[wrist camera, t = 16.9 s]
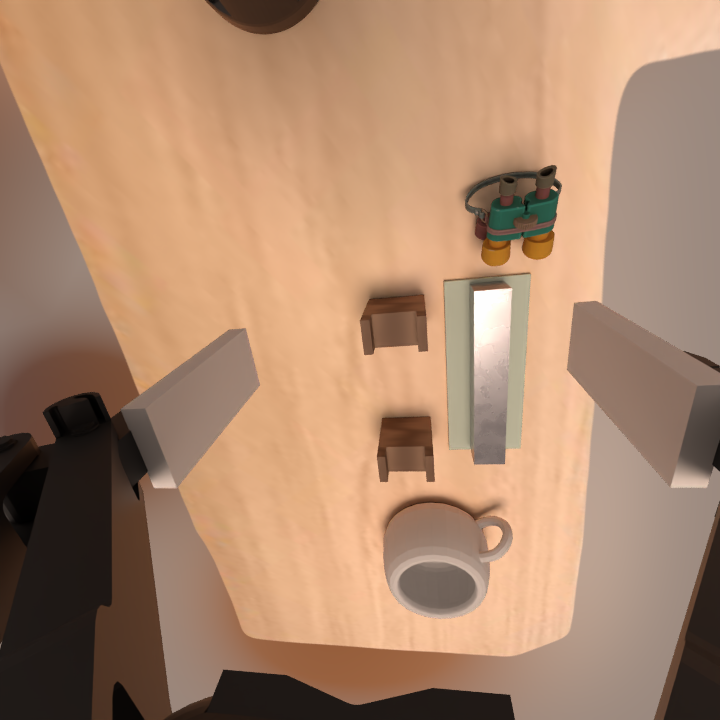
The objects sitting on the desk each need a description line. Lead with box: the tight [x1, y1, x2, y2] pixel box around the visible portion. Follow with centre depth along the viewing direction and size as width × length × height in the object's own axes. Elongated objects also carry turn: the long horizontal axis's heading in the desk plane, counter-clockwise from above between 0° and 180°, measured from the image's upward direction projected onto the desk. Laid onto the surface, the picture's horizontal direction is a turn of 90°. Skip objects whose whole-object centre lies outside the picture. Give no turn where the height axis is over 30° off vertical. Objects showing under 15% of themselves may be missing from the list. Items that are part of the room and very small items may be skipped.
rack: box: [360, 295, 435, 482], centre depth 48 cm, size 7×22×9 cm, turn 7°
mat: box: [444, 273, 531, 450], centre depth 50 cm, size 10×25×1 cm, turn 7°
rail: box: [469, 281, 512, 464], centre depth 48 cm, size 4×24×4 cm, turn 7°
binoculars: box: [465, 165, 562, 266], centre depth 37 cm, size 9×9×10 cm
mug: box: [383, 503, 513, 619], centre depth 58 cm, size 21×17×10 cm
